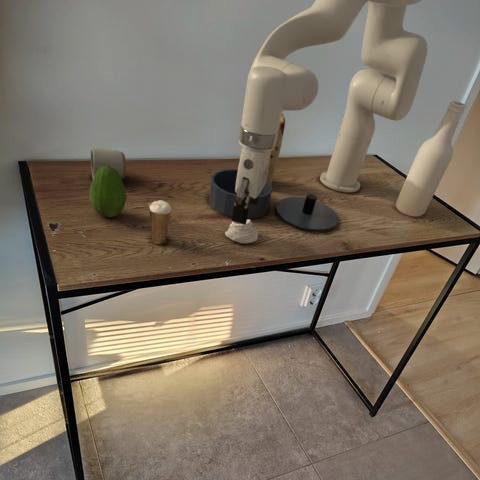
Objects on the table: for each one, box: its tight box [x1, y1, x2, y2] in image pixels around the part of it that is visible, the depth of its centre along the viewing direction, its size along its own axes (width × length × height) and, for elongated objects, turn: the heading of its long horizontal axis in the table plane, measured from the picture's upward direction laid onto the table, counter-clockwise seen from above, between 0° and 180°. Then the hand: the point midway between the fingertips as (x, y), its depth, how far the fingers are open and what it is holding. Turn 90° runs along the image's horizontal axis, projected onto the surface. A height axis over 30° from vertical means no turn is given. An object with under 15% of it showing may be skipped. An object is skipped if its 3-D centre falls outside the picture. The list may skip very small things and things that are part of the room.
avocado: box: [89, 165, 128, 218], centre depth 98 cm, size 8×8×12 cm
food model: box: [267, 113, 286, 184], centre depth 121 cm, size 10×7×20 cm
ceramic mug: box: [90, 147, 127, 181], centre depth 113 cm, size 11×8×8 cm
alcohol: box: [395, 100, 467, 218], centre depth 120 cm, size 9×9×30 cm
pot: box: [208, 168, 273, 220], centre depth 114 cm, size 16×16×6 cm
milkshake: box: [145, 196, 172, 245], centre depth 94 cm, size 4×5×10 cm
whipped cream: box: [224, 219, 259, 244], centre depth 103 cm, size 8×7×5 cm
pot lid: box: [275, 193, 339, 232], centre depth 115 cm, size 17×17×6 cm
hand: (245, 212), depth 100 cm, fingers open, 9 cm apart
